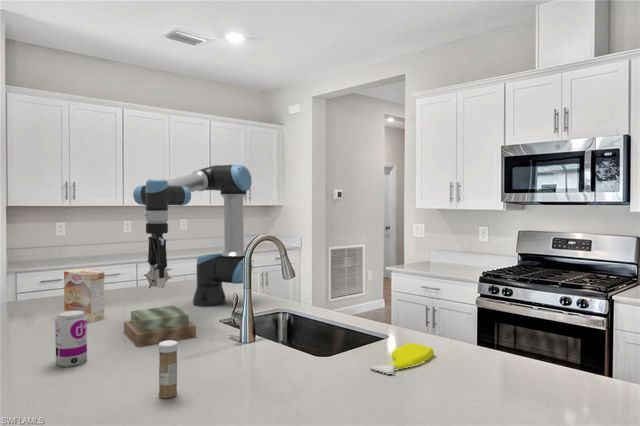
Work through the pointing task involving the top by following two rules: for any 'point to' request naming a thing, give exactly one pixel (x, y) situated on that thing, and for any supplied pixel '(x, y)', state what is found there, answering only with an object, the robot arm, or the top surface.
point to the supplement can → (71, 338)
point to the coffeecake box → (85, 293)
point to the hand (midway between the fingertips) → (157, 284)
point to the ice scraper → (406, 357)
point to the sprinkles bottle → (168, 369)
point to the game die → (155, 276)
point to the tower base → (158, 334)
